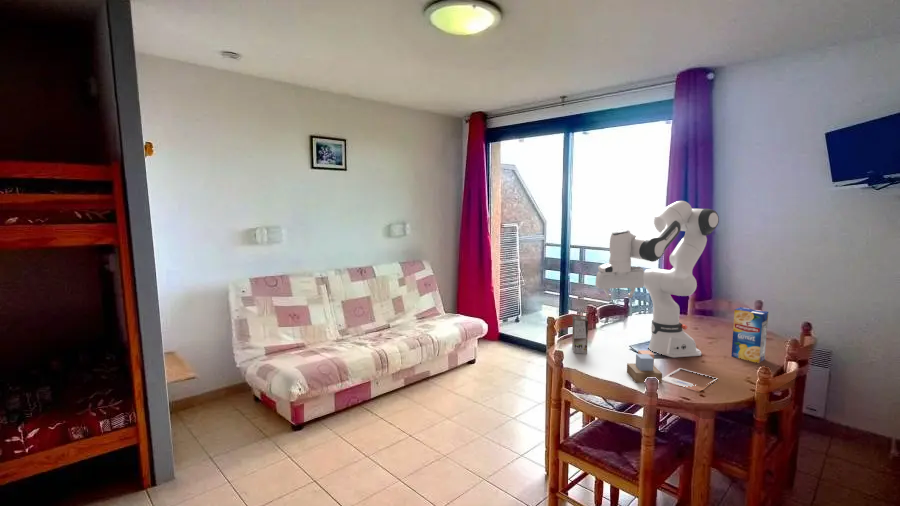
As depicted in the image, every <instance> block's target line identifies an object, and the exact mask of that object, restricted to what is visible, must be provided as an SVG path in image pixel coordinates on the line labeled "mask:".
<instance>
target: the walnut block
mask: <svg viewBox="0 0 900 506" xmlns="http://www.w3.org/2000/svg"><path fill="white" fill-rule="evenodd" d="M626 363H627V362H626ZM626 374H628V376H629V377H630V378H631V379H632V380H633V381H634V382H635V383H637V384H639V383H641V384H642V383H643V384H645V383H644V381H645V379H646V378H647V377H656V378H657V379H658V380H659V382H660V383H659V384H662V382H663V381H662V378H663V372H661V371H660V370H659V368H657V367H656V366H655V364H654V365H653V371H640V370H639V369H638V368H637V367H636V363H627V364H626Z"/></svg>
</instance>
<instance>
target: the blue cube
mask: <svg viewBox="0 0 900 506" xmlns="http://www.w3.org/2000/svg"><path fill="white" fill-rule="evenodd" d="M653 362H654V363H655V357H654V358H652V357H651V356H650V355H649V354H638V353H636V354H635V364H636V367H637V368H638V369H639V370H640V371H653Z"/></svg>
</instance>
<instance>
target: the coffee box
mask: <svg viewBox="0 0 900 506" xmlns="http://www.w3.org/2000/svg"><path fill="white" fill-rule="evenodd" d="M588 329H589V320H588V317H587V316H586V315H572V339H571V340H572V346H571V347H572V351H573V354H585V355H586V354H588V339H589V338H588V336H589V330H588Z"/></svg>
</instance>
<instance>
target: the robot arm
mask: <svg viewBox="0 0 900 506" xmlns="http://www.w3.org/2000/svg"><path fill="white" fill-rule="evenodd" d="M653 220H654V221H653V224H654V226H655V228H656V230H657V231H658V232H659V234H658V235H657V236H655V237H645V236H644V237H643V236H637V235H634V234H632V233H631V231H630V230H629V229H617V230H615V231H613V232H611V234H610V239H609V254H610V256H609V261H608V262H606V263H603V264H600V265H598V266H597V269H598V271H597V273H596V275H595V287H596V288H598V289H599V290H601V289H603V291H604V293H605V295H606V299H611V298H612V297H611V296H612V294H611V293H609V292H608V291H609V289H611V290H612V289H630V291H629V293H627V298H628V299H632V298H633V295H634V293H635V292H636V289H639V288H640V289H641V288H643V287H644V288H645V289H646V290H647V292H648V293H649V295H650V299H651V302H652V307H653V308H652V310H653V311H652V320H651V327H650V328H651V337H650V341H649V344H648V347H647V349H648V348H649V349H650V350H651V352H652V351H653V352H652V353H654V352H658V353H660V354H659V355H661V354H662V356H667V357H669V358H684V357H687V358H688V357H698V356H699V357H700V356H702V351H701V349H699V348H697V345H696V341H695V339H694V338H693V337H691V336H690V335H689V334H688V333H686V332H685V331H686V330H687V329H688V325H686V324H685V323H684V324H683V323H681V322H680V305H679V304H678V303H677V302H676V301H675V300H674V298H673V297H672V296H671V295H674V296H678V297H680V296H681V297H687V296H688V297H689V296H691V295H693V294H694V293H695V292H696V290H697V287H698V285H697V284H698V283H697V279H696V278H695V276H694V275H693V271H694V270H693V269H694V267H695V266H696V264H697V262H698V260H699V259H700V257H701V255H702V254H703V252H704V250H705V248H706V246H707V241H708V237H707V236H709V235H711V234H712V233H713V232H714V231H715V229H716V228H717V226H718V225H719V221H720V217H719V213H718V212H717V211H716V210H715V209H710V208H692V205H691V204H690V203H689V202H687V201H685V200H677V201H675V202H672V203H670V204H669V205H667V206H665V207H664V208H663V209H661V210H660V211H659V212H658V213H657V214H656V215H655V217H654V219H653ZM680 232H685V233H684V236H683V237H682V238H680V239H681V240H679V241H678V243H677V244H676V246H675V248H674V249H673V251H672V252H671V253H670V255H669V263H670V265H671V266H672V268H671V269H663V268H659V267H658V268H657V267H656V268H655V267H654V268H647V269H645V270H644V268H643V267H641V266H632V260H631V259H638V260H644V261H647V262H651V263H652V262H656V261H658V260H660V259H661V257H662V256H663V254H665V251H666V249H668V247H669V246H670V244H672V242H673V241H674V240H676V238H677V236H679V234H680ZM684 330H685V331H684ZM649 349H648V350H649Z"/></svg>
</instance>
